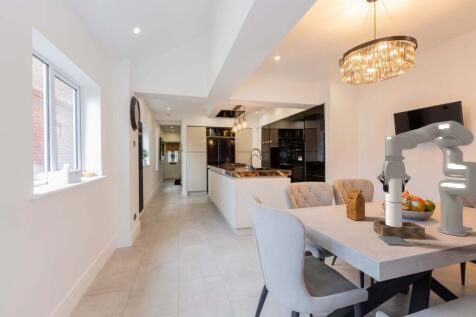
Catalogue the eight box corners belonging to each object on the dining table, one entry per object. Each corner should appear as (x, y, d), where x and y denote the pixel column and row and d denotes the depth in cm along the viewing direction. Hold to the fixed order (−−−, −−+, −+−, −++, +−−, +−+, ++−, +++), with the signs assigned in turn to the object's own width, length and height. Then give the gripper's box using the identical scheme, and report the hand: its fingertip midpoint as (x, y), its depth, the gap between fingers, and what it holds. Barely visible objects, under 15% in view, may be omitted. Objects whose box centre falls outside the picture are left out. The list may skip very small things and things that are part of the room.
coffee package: (356, 216, 166) (356, 187, 166) (367, 220, 153) (367, 190, 153) (344, 216, 165) (343, 187, 165) (354, 221, 153) (353, 190, 153)
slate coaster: (399, 238, 120) (399, 236, 120) (412, 246, 109) (412, 244, 109) (378, 237, 122) (378, 235, 122) (388, 245, 111) (388, 243, 111)
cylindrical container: (395, 227, 111) (395, 179, 111) (382, 223, 118) (382, 178, 118) (405, 226, 113) (405, 178, 113) (392, 222, 120) (392, 177, 120)
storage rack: (411, 231, 130) (411, 221, 130) (425, 238, 119) (424, 228, 119) (373, 230, 134) (373, 220, 133) (382, 237, 122) (382, 226, 122)
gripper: (407, 158, 118) (407, 191, 118) (372, 159, 120) (372, 190, 121) (416, 159, 110) (416, 193, 110) (379, 159, 113) (379, 192, 113)
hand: (393, 191), depth 115 cm, fingers closed on cylindrical container, 7 cm apart
